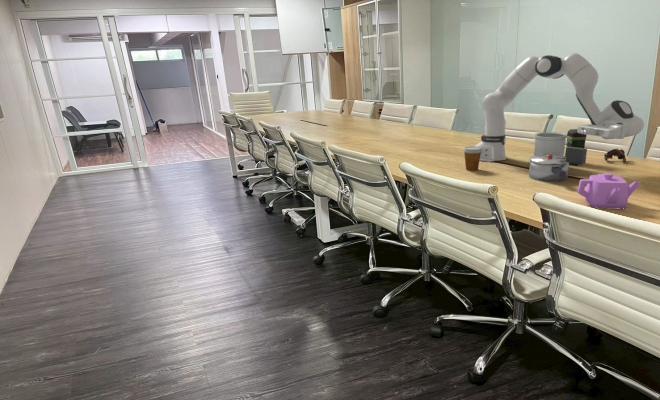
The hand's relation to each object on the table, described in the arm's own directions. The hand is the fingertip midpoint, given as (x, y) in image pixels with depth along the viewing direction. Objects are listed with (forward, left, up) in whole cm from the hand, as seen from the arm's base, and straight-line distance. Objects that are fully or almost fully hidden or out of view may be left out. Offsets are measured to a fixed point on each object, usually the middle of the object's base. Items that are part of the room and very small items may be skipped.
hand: (583, 132), depth 196 cm
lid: (-10, -1, -14) cm, 17 cm away
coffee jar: (-5, +33, -23) cm, 41 cm away
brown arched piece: (+14, +44, -23) cm, 52 cm away
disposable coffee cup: (-51, +3, -23) cm, 56 cm away
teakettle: (+13, -35, -23) cm, 43 cm away
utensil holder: (-16, +21, -23) cm, 35 cm away
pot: (-12, -2, -22) cm, 25 cm away
